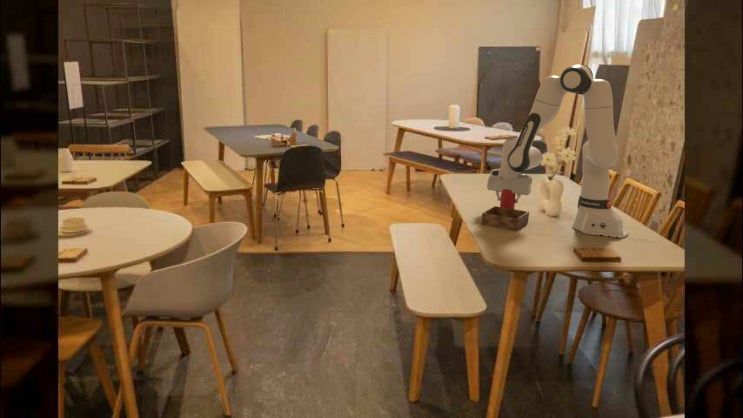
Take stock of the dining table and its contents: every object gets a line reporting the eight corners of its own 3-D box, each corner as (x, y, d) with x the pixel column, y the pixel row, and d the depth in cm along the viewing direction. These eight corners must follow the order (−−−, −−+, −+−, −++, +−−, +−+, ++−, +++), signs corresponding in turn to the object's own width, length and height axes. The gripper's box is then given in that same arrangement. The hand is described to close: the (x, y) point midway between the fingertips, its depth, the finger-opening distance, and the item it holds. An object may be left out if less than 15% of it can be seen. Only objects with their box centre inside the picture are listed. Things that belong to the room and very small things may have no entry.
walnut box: (528, 222, 256) (529, 211, 255) (517, 230, 242) (518, 219, 241) (493, 216, 264) (494, 206, 262) (481, 224, 250) (482, 213, 249)
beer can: (514, 215, 265) (516, 190, 262) (499, 214, 266) (501, 189, 263) (513, 212, 271) (515, 187, 268) (499, 211, 273) (501, 186, 270)
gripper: (534, 174, 261) (531, 203, 265) (491, 169, 272) (489, 197, 275) (530, 176, 256) (527, 206, 260) (486, 171, 266) (484, 199, 270)
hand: (507, 201), depth 267 cm, fingers closed on beer can, 7 cm apart
